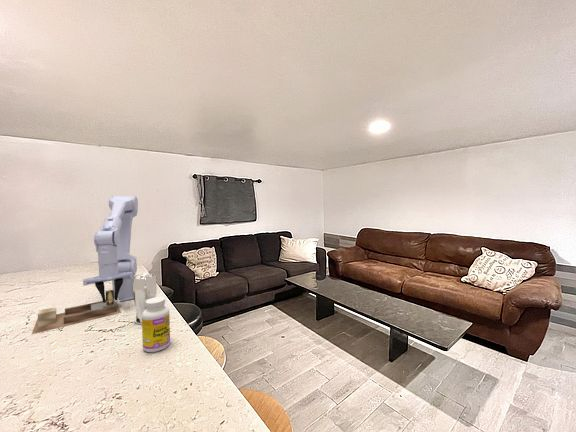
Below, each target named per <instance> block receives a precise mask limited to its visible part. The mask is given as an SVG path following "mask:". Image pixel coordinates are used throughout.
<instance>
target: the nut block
mask: <svg viewBox="0 0 576 432" xmlns="http://www.w3.org/2000/svg"><path fill="white" fill-rule="evenodd" d="M57 314H58V313H57V307H56V306H55V307H50V308H45V309H41V310H40V309H39V310H38V312H37V319H38V327H41V326H45V325H50V324H54V323H56V320H57Z"/></svg>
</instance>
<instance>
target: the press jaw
mask: <svg viewBox="0 0 576 432" xmlns="http://www.w3.org/2000/svg"><path fill="white" fill-rule="evenodd" d="M105 300H106V303H103V302H102V303H97V304H92V305H91V311H93V310H97V309H102V308H106V307H111V306H115V305H116V303H115V302H116V300H115V298H114V290H113V289H109V290H108V289H107V290H106V291H105Z"/></svg>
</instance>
